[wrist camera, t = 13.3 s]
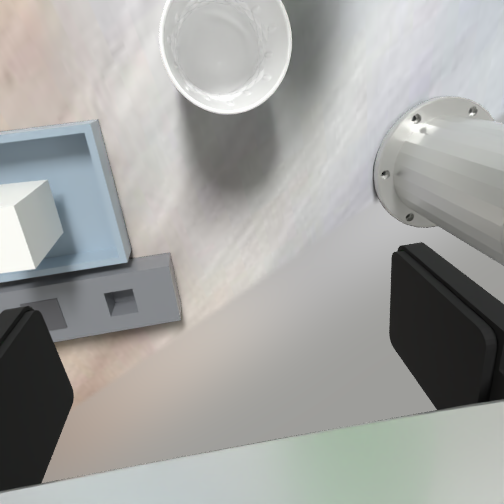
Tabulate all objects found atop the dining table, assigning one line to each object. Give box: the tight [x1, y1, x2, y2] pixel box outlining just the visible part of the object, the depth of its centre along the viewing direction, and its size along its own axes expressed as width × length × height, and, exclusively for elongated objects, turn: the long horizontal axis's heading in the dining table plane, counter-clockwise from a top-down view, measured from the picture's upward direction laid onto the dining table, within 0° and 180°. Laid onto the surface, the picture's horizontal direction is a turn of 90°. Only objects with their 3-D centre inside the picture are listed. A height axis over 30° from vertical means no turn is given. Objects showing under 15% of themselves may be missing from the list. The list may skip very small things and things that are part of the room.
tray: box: [0, 119, 132, 283], centre depth 34 cm, size 13×12×3 cm
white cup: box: [159, 0, 292, 115], centre depth 28 cm, size 8×8×10 cm
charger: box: [0, 179, 63, 273], centre depth 31 cm, size 4×5×9 cm
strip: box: [0, 253, 181, 342], centre depth 38 cm, size 20×6×4 cm, turn 96°
